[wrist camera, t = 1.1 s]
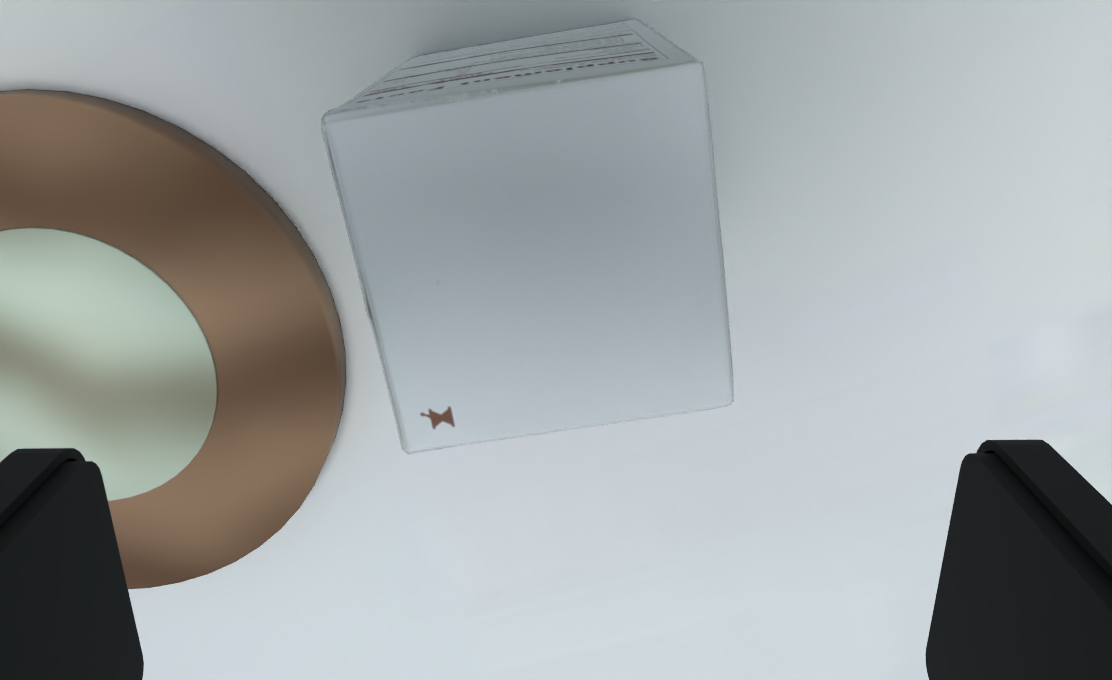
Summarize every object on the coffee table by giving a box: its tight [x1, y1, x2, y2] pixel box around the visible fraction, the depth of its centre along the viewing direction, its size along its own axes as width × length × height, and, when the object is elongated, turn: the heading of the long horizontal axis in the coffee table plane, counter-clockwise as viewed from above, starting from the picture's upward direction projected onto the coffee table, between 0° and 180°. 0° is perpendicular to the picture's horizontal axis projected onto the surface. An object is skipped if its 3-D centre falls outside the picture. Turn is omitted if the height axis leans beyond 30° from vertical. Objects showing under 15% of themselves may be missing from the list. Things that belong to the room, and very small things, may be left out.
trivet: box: [0, 89, 346, 589], centre depth 31 cm, size 18×18×2 cm
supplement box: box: [321, 19, 734, 454], centre depth 24 cm, size 7×7×13 cm
